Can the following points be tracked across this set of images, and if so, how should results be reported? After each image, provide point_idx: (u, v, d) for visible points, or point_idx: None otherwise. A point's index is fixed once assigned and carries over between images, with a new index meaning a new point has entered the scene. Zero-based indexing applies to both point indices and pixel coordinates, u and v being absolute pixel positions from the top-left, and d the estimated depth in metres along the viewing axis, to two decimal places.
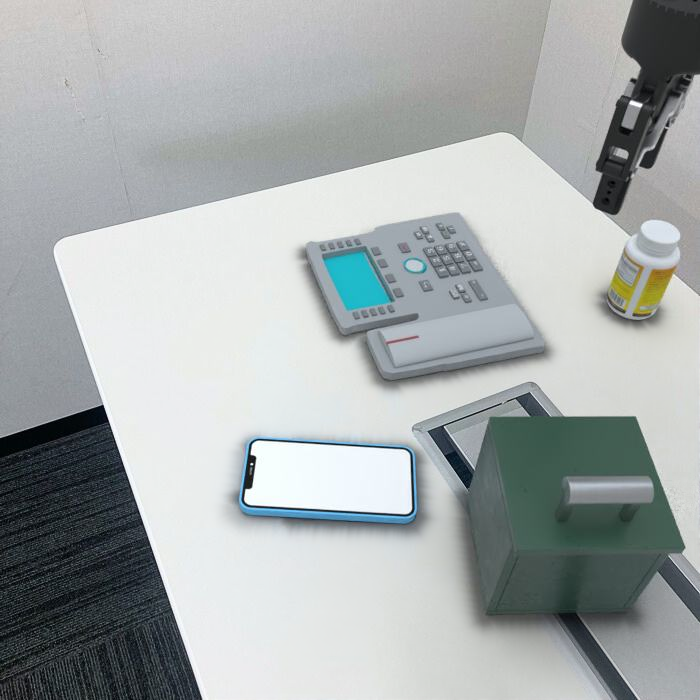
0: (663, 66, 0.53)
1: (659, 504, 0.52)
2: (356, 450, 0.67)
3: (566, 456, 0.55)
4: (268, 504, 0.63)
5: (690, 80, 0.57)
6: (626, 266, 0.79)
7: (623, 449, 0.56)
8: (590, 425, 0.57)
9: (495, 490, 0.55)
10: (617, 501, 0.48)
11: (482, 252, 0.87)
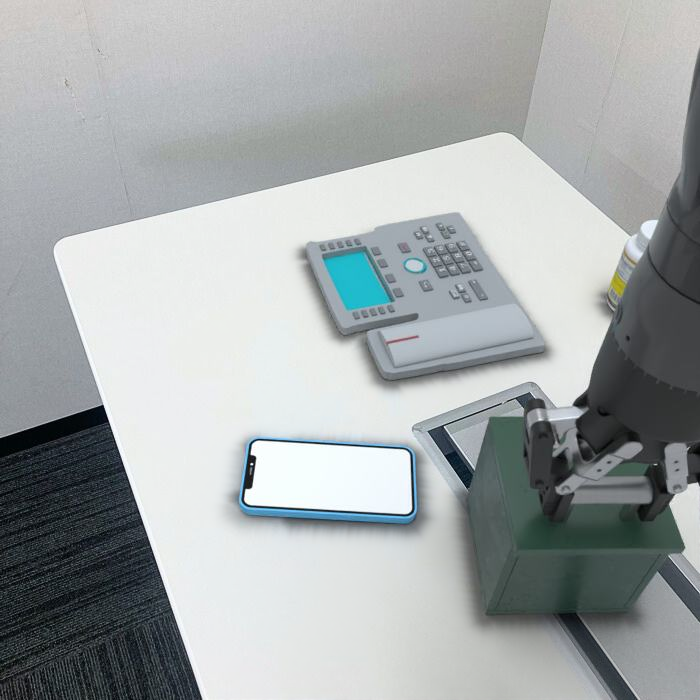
0: (597, 392, 0.41)
1: None
2: (356, 450, 0.67)
3: None
4: (268, 504, 0.63)
5: None
6: (626, 266, 0.79)
7: None
8: None
9: (495, 490, 0.55)
10: (617, 501, 0.48)
11: (482, 252, 0.87)
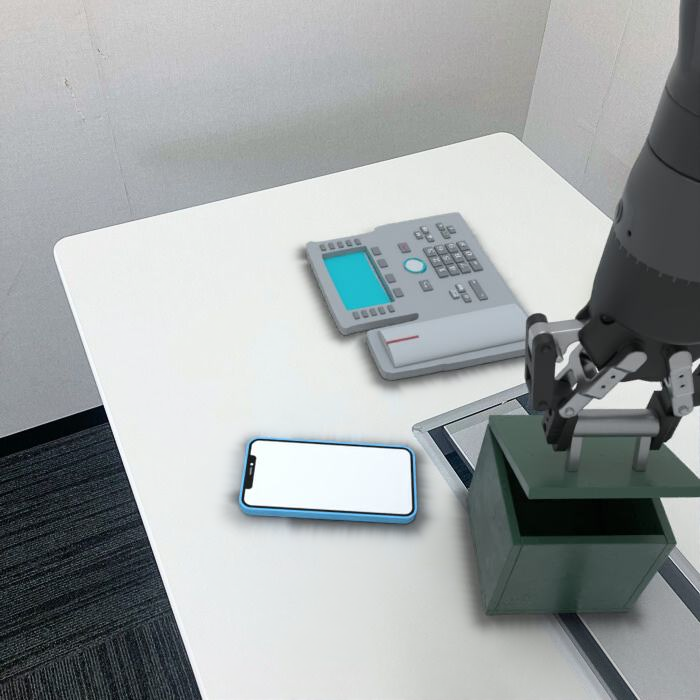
0: (599, 299, 0.41)
1: (672, 461, 0.51)
2: (356, 450, 0.67)
3: None
4: (268, 504, 0.63)
5: (684, 350, 0.42)
6: None
7: None
8: None
9: (495, 490, 0.55)
10: (623, 427, 0.47)
11: (482, 252, 0.87)
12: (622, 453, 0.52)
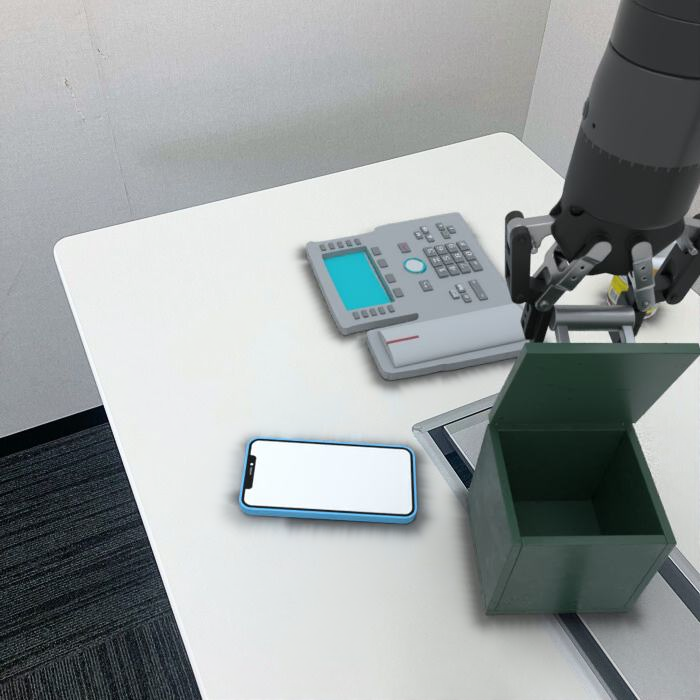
0: (569, 192, 0.46)
1: None
2: (356, 450, 0.67)
3: None
4: (268, 504, 0.63)
5: (645, 241, 0.47)
6: None
7: None
8: None
9: (495, 490, 0.55)
10: (600, 309, 0.51)
11: (482, 252, 0.87)
12: None
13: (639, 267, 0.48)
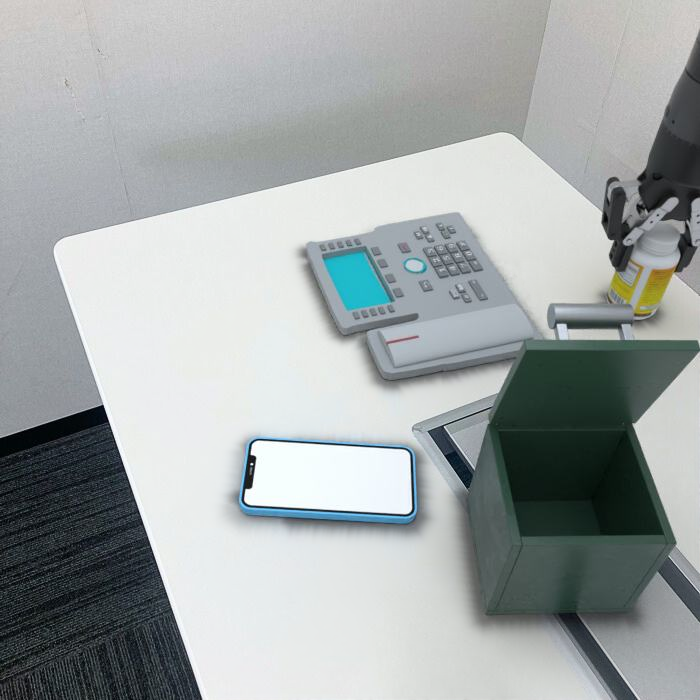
0: (652, 164, 0.70)
1: None
2: (356, 450, 0.67)
3: None
4: (268, 504, 0.63)
5: None
6: (626, 266, 0.79)
7: None
8: None
9: (495, 490, 0.55)
10: (599, 307, 0.51)
11: (482, 252, 0.87)
12: None
13: (695, 215, 0.73)
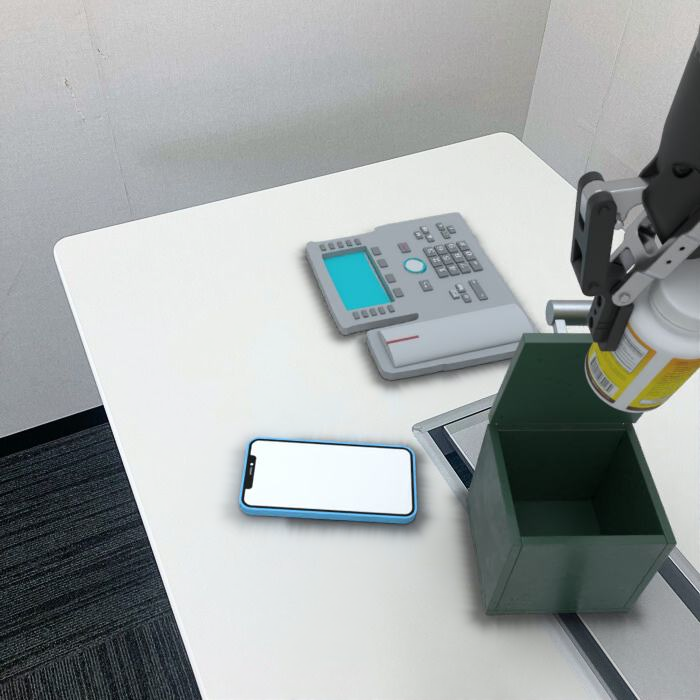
0: (673, 145, 0.33)
1: None
2: (356, 450, 0.67)
3: None
4: (268, 504, 0.63)
5: None
6: (623, 339, 0.41)
7: None
8: None
9: (495, 490, 0.55)
10: None
11: (482, 252, 0.87)
12: None
13: None
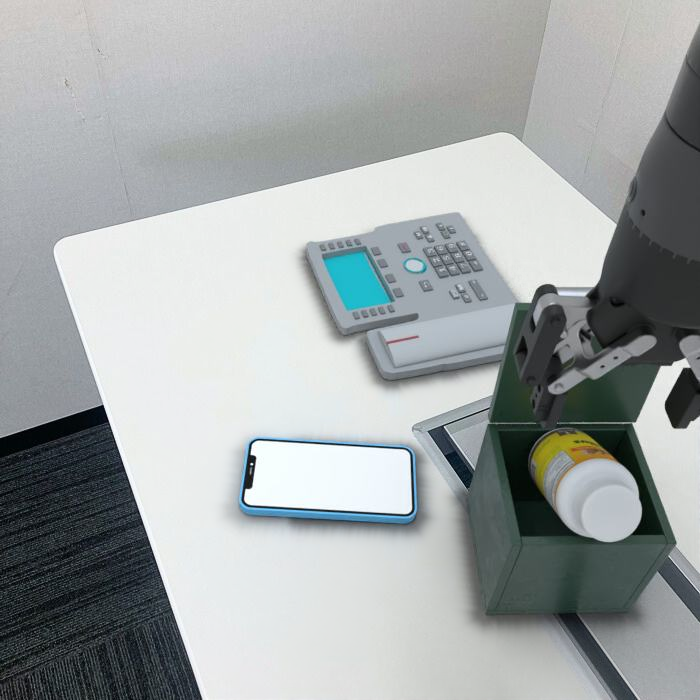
0: (609, 280, 0.39)
1: None
2: (356, 450, 0.67)
3: None
4: (268, 504, 0.63)
5: (692, 334, 0.41)
6: (551, 500, 0.52)
7: None
8: None
9: (495, 490, 0.55)
10: (585, 288, 0.54)
11: (482, 252, 0.87)
12: None
13: (694, 358, 0.42)
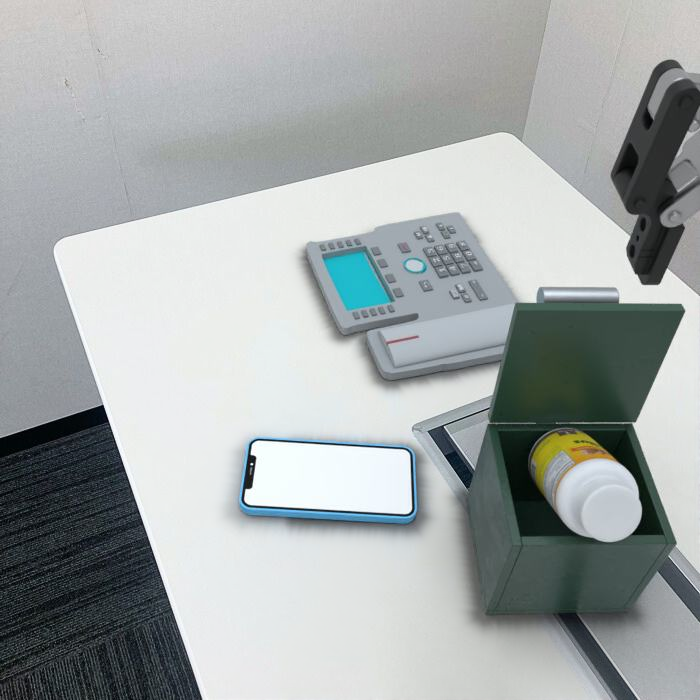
0: None
1: None
2: (356, 450, 0.67)
3: None
4: (268, 504, 0.63)
5: None
6: (551, 500, 0.52)
7: None
8: None
9: (495, 490, 0.55)
10: (585, 288, 0.54)
11: (482, 252, 0.87)
12: None
13: None
